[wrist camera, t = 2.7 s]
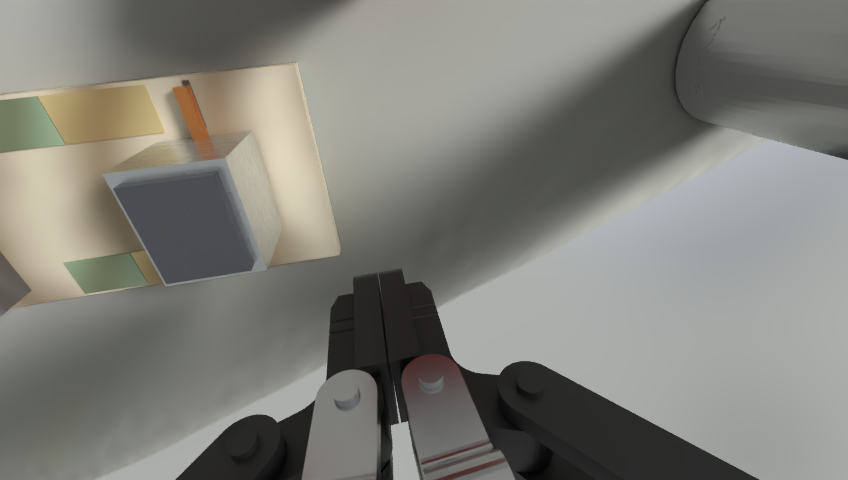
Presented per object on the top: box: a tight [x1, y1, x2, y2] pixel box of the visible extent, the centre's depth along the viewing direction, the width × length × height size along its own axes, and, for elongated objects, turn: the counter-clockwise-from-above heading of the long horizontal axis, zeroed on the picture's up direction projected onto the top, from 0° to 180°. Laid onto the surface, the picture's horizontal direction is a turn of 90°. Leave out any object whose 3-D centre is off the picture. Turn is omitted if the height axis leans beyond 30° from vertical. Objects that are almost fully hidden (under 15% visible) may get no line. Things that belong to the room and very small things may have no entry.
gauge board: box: [0, 62, 341, 316], centre depth 19 cm, size 22×12×7 cm, turn 95°
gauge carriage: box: [102, 85, 283, 287], centre depth 19 cm, size 5×11×6 cm, turn 5°
